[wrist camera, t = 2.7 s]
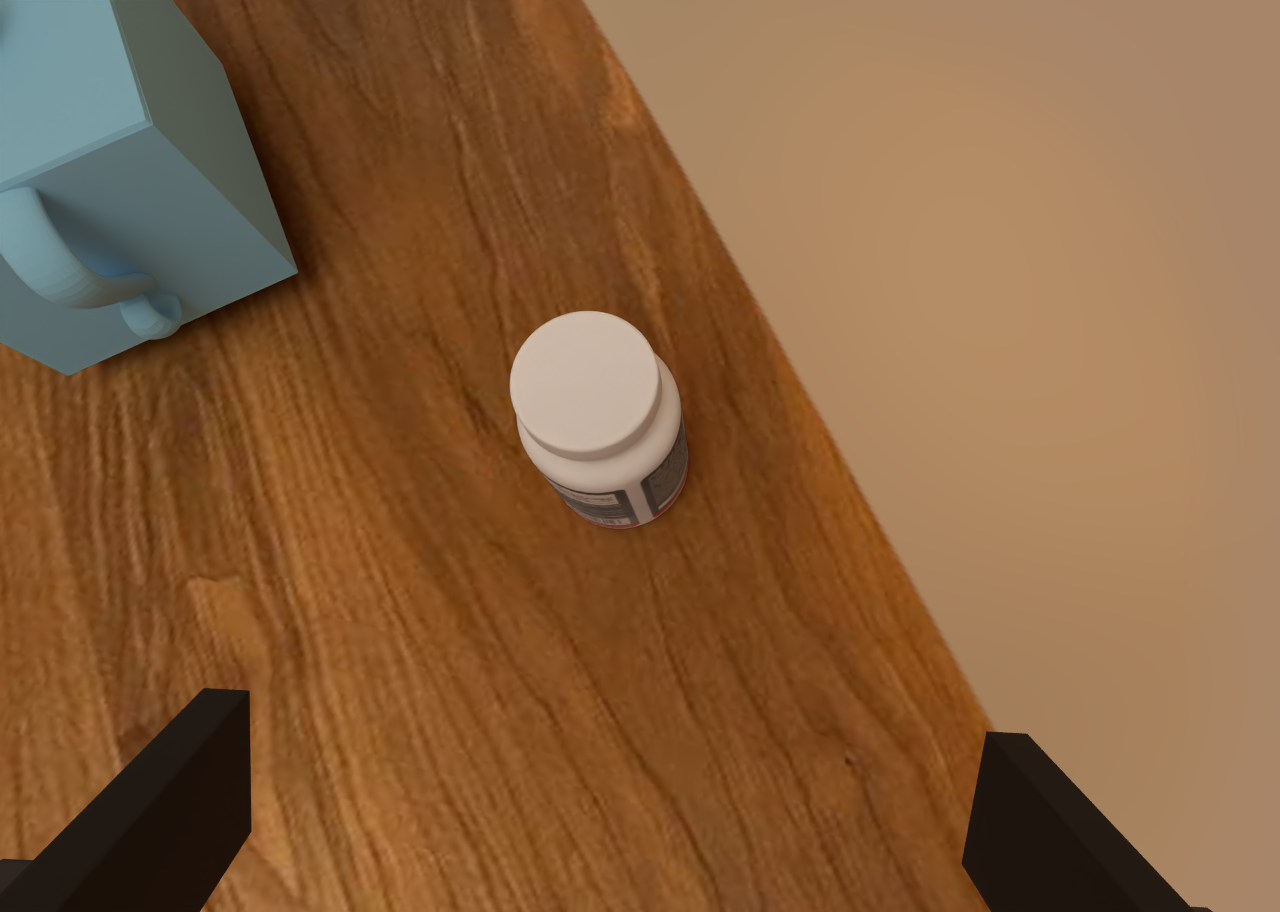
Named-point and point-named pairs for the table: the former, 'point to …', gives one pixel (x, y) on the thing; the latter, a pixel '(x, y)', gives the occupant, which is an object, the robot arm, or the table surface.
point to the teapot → (121, 181)
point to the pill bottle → (601, 418)
